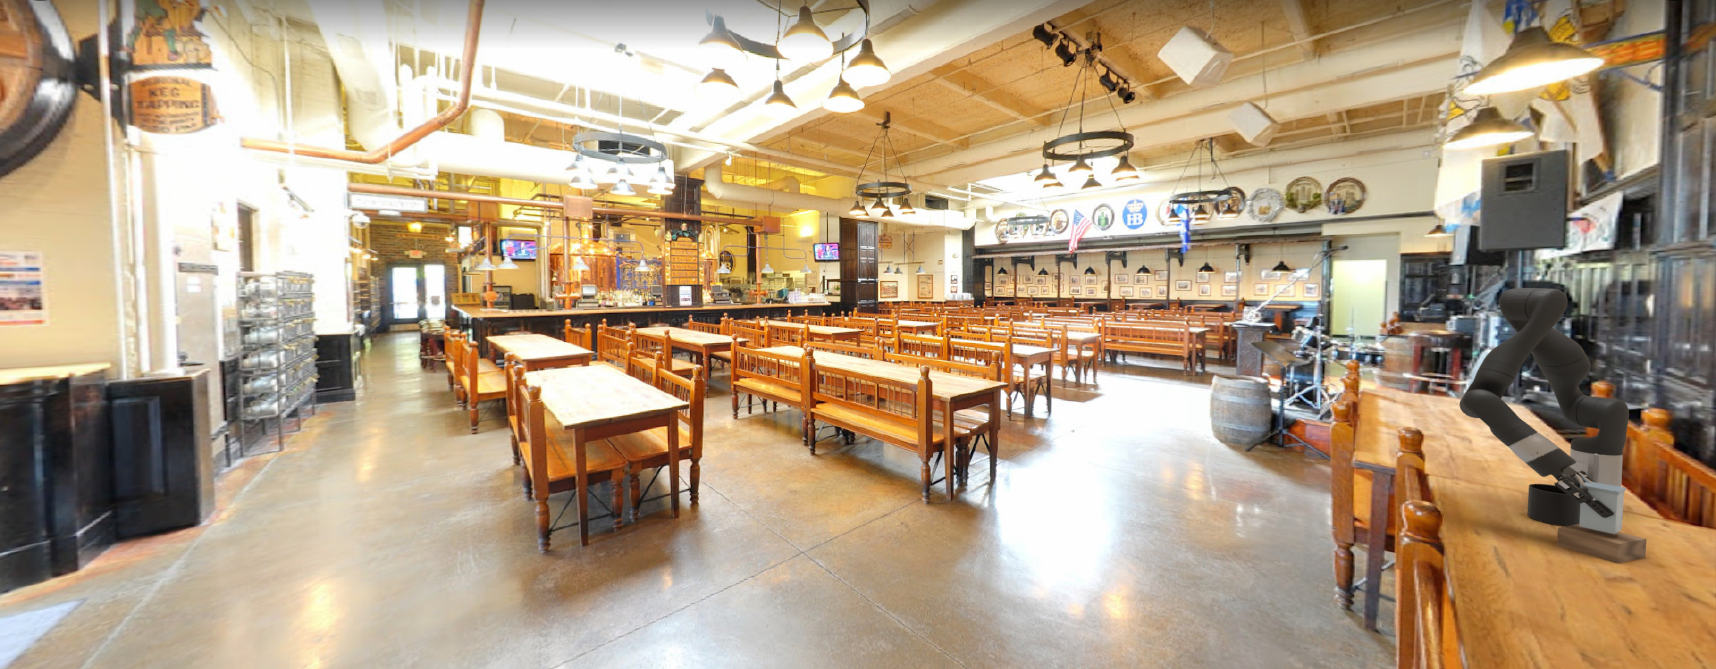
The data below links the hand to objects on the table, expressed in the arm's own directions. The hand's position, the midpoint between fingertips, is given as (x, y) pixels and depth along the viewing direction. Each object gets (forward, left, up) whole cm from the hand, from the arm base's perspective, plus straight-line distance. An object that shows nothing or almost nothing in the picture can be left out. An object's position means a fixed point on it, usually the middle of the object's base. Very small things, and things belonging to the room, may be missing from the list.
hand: (1613, 513), depth 136 cm
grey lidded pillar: (0, -2, -4) cm, 5 cm away
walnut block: (0, -2, -10) cm, 11 cm away
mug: (-20, -14, -10) cm, 26 cm away
